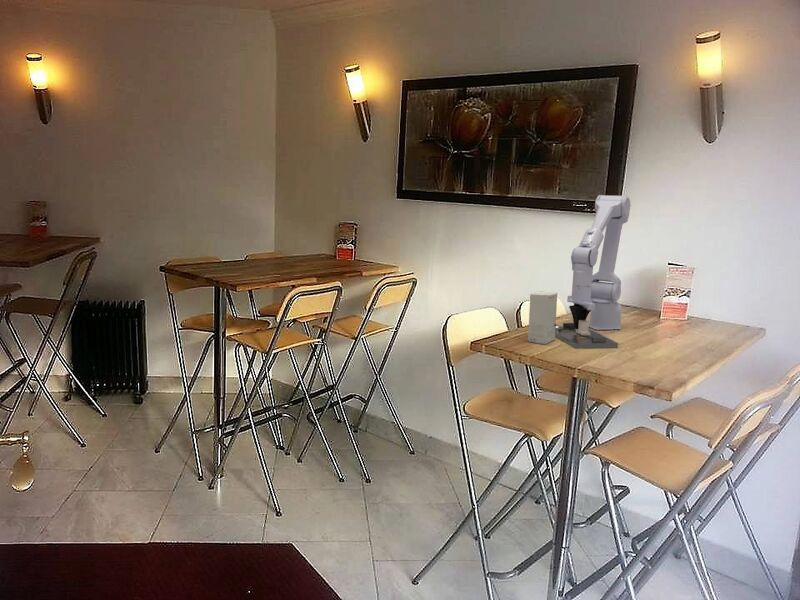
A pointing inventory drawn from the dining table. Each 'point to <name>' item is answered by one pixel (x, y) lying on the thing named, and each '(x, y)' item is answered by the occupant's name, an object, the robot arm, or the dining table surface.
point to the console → (582, 338)
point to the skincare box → (542, 317)
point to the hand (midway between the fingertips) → (578, 328)
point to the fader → (583, 327)
